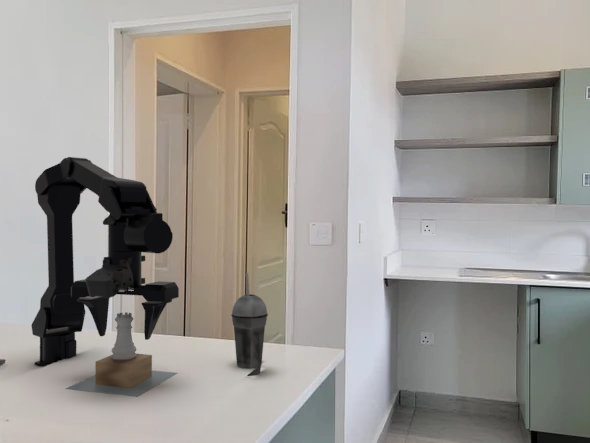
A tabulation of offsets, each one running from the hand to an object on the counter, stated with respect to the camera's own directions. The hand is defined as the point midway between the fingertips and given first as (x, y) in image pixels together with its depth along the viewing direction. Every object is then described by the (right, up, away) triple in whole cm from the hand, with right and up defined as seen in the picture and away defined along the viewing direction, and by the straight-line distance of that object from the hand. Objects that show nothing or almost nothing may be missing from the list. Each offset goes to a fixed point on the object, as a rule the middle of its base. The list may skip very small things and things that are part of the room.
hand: (124, 337), depth 98 cm
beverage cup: (+21, -10, +11) cm, 26 cm away
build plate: (0, -9, 0) cm, 9 cm away
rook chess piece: (0, -4, 0) cm, 4 cm away
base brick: (0, -8, 0) cm, 8 cm away
